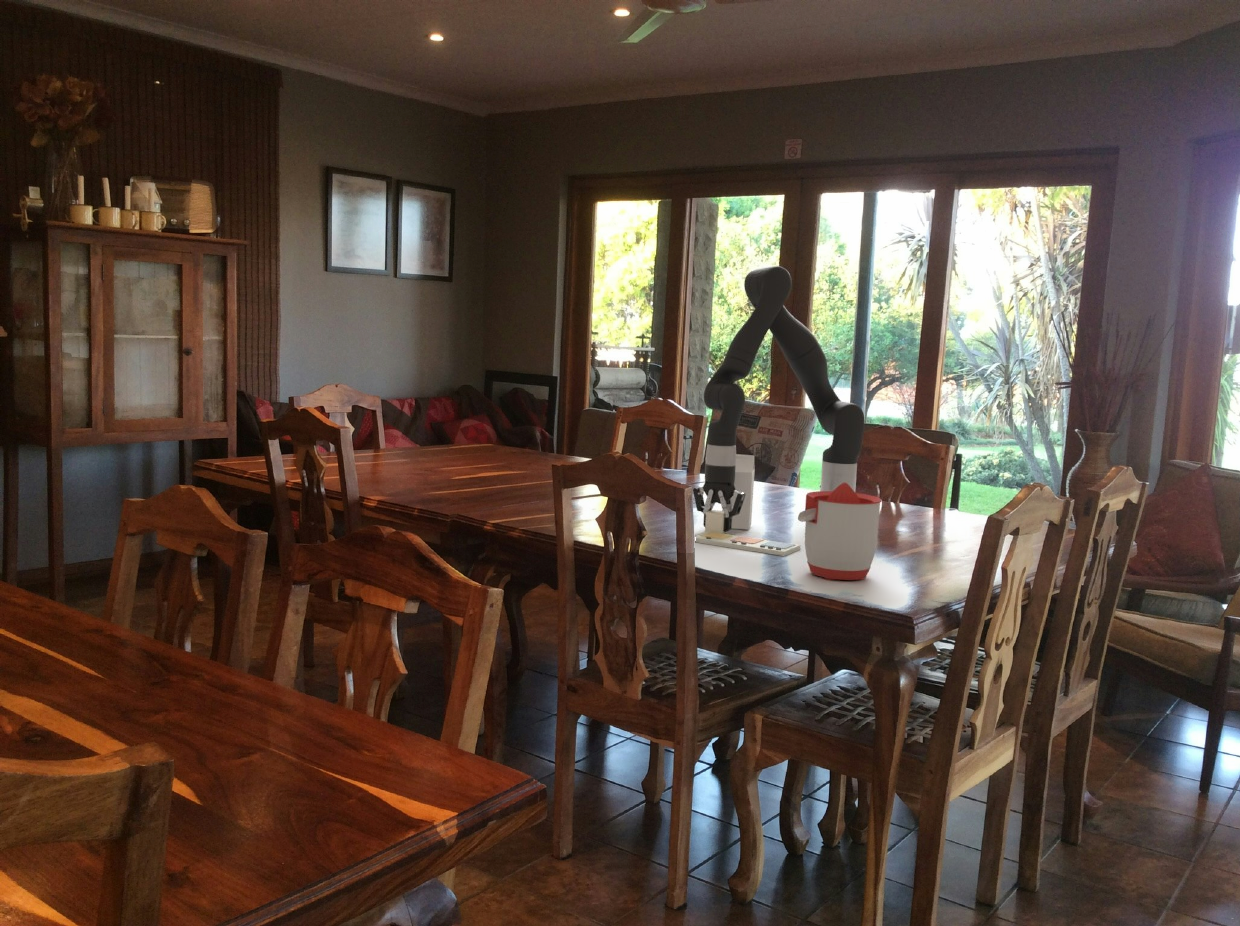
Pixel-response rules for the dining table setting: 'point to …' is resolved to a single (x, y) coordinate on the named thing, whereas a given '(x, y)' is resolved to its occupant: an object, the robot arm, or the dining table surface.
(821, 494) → the citrus juicer
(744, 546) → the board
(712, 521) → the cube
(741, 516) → the milk carton
